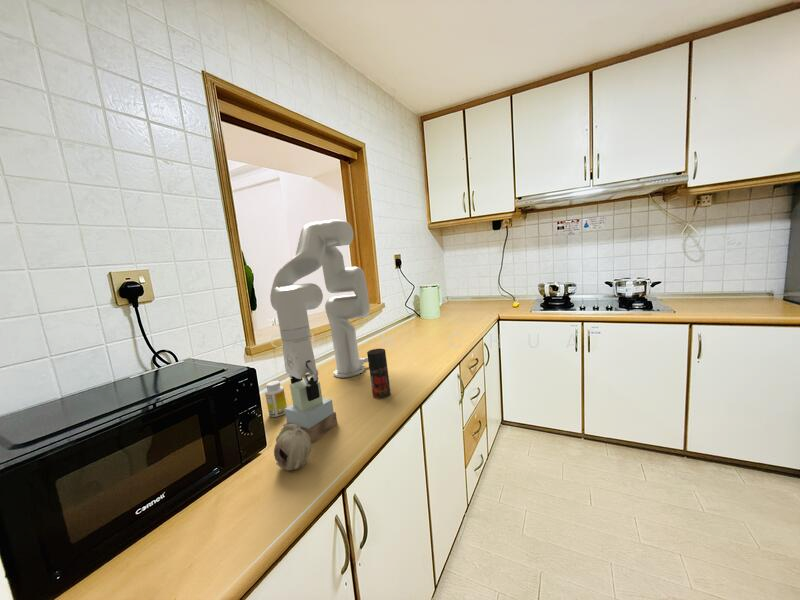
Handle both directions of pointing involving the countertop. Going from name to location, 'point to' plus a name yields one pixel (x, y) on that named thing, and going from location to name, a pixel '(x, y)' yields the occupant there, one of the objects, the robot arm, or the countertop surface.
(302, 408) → the sage cube
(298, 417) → the grey-blue block
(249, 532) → the countertop surface
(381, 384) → the deodorant
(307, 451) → the garlic bulb
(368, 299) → the robot arm
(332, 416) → the walnut block
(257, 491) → the countertop surface
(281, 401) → the supplement bottle
